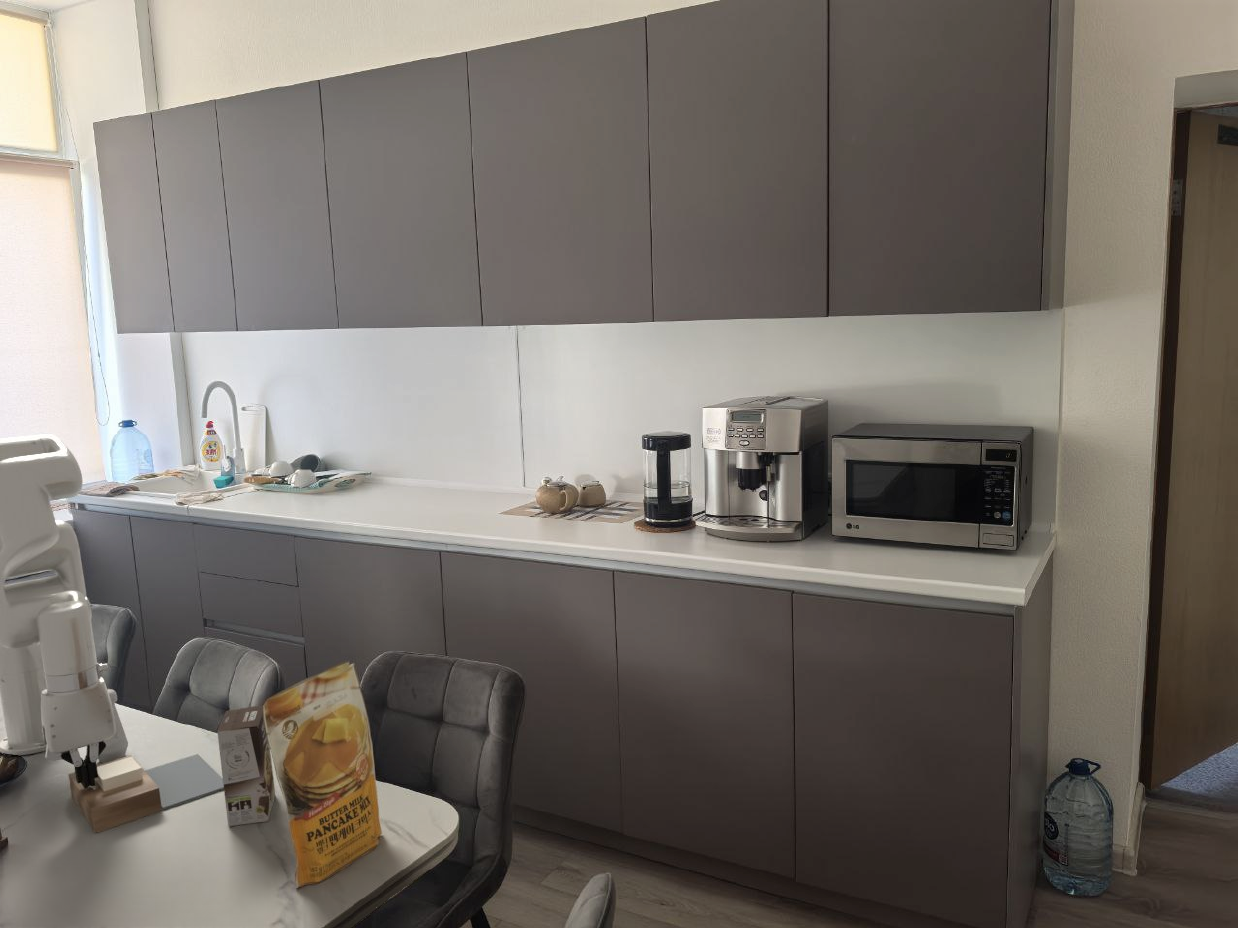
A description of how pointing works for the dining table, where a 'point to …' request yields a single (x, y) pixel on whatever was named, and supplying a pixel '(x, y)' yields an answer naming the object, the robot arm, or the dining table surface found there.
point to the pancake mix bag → (325, 770)
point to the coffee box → (246, 766)
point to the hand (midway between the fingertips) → (88, 784)
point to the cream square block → (118, 773)
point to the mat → (185, 780)
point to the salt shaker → (119, 747)
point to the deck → (116, 801)
